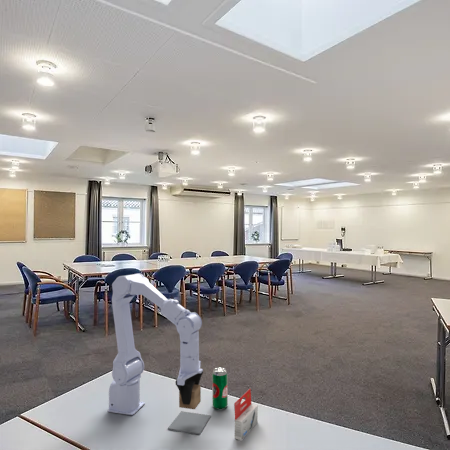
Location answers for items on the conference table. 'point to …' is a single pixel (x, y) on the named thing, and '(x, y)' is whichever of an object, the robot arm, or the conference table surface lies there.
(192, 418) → the pad
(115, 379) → the robot arm
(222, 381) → the soda can
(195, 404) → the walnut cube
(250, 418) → the ink cartridge box
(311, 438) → the conference table surface
